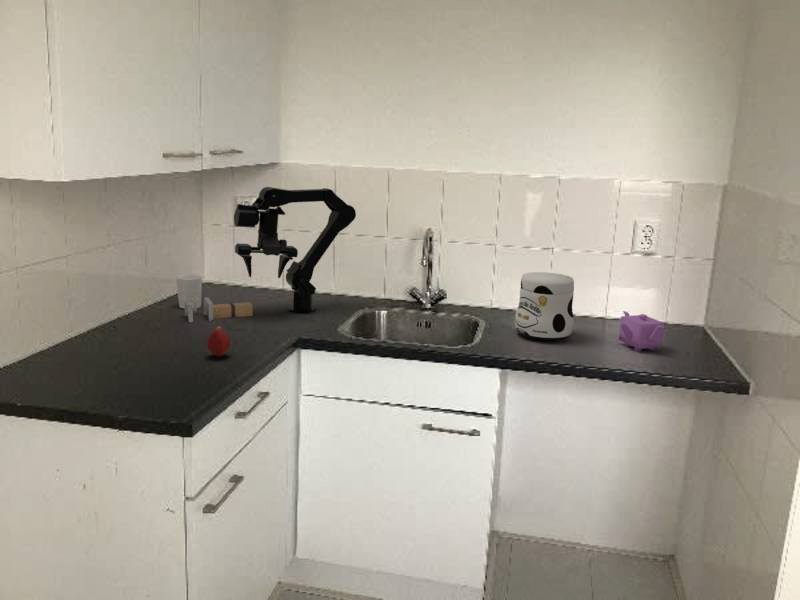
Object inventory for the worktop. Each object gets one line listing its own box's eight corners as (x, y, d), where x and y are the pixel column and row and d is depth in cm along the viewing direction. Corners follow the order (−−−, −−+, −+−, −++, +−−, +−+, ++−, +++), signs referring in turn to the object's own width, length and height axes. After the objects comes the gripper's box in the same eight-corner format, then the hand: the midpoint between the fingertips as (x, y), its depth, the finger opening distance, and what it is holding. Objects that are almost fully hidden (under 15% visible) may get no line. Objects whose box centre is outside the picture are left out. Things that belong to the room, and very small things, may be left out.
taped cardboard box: (249, 313, 229) (249, 302, 228) (252, 315, 226) (252, 304, 225) (211, 315, 224) (211, 304, 223) (213, 318, 221) (213, 307, 220)
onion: (218, 361, 181) (218, 331, 179) (202, 357, 184) (201, 327, 182) (235, 356, 186) (234, 326, 184) (219, 351, 189) (218, 322, 187)
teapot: (599, 340, 213) (603, 308, 211) (636, 337, 218) (640, 306, 215) (638, 358, 197) (642, 324, 195) (677, 355, 201) (681, 321, 199)
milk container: (506, 338, 212) (510, 278, 207) (522, 325, 227) (527, 269, 223) (564, 347, 204) (570, 286, 200) (577, 333, 220) (583, 275, 216)
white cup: (198, 310, 230) (197, 279, 227) (174, 309, 230) (173, 278, 227) (205, 304, 237) (204, 274, 235) (181, 303, 237) (180, 273, 235)
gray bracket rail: (206, 311, 228) (206, 295, 227) (213, 320, 218) (212, 303, 217) (183, 313, 225) (182, 296, 224) (189, 322, 215) (188, 304, 214)
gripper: (243, 230, 212) (240, 281, 215) (304, 233, 220) (300, 283, 223) (235, 225, 222) (232, 274, 225) (294, 228, 229) (290, 276, 232)
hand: (264, 277), depth 226 cm, fingers open, 9 cm apart
